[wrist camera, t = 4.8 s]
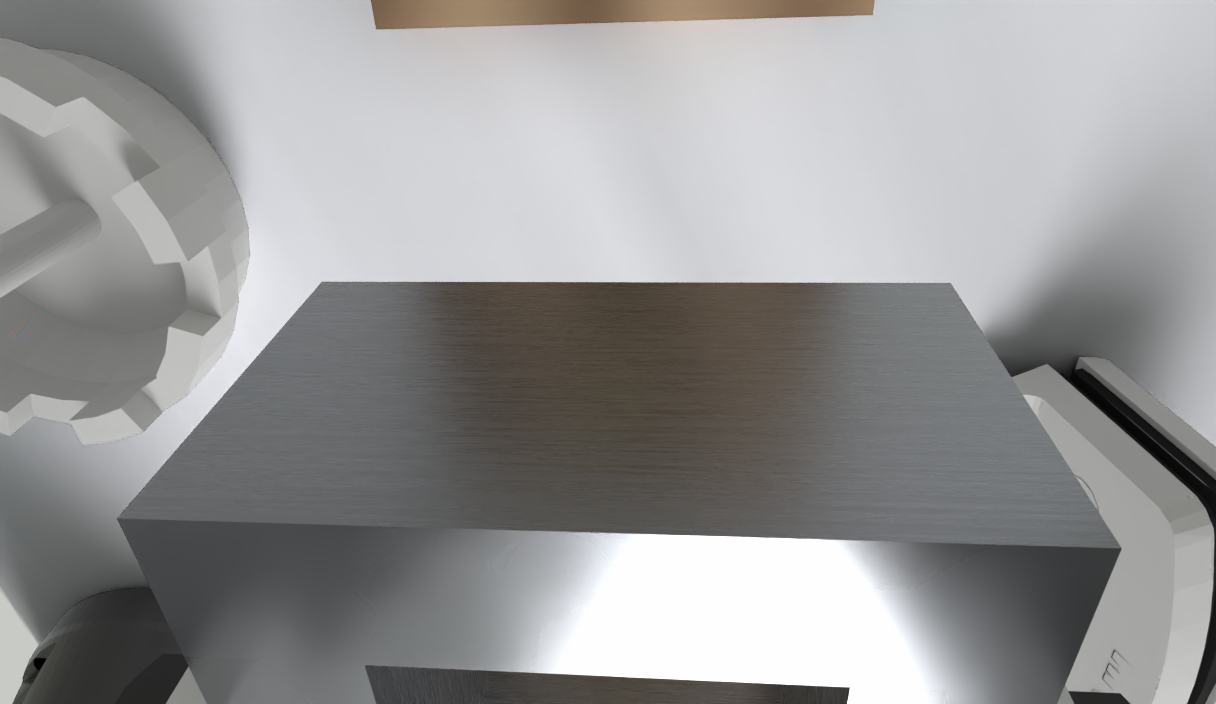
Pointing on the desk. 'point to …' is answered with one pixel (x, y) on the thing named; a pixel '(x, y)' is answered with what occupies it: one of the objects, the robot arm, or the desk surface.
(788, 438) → the grey hollow square block
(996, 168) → the desk surface
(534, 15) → the wooden peg stand
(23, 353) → the flag stand
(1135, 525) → the hinge
